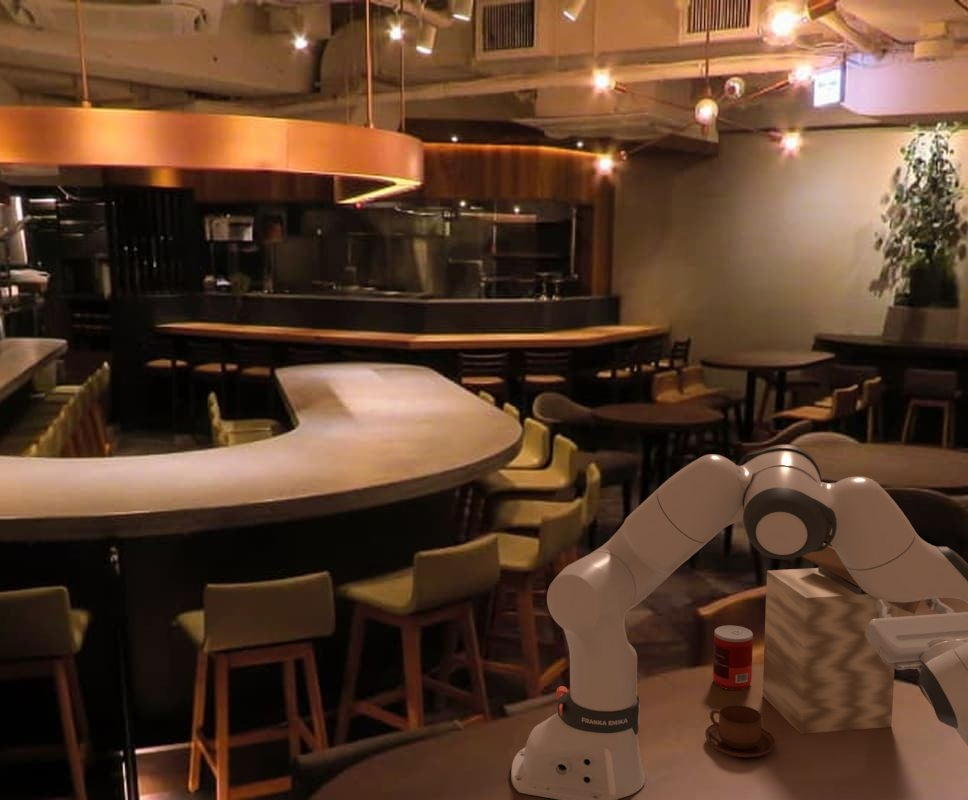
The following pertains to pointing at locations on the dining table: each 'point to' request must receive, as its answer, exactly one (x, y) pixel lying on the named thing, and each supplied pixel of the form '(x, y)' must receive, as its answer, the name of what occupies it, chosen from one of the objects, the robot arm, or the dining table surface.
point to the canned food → (732, 657)
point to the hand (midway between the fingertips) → (905, 600)
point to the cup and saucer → (739, 732)
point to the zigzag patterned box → (823, 653)
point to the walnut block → (835, 565)
